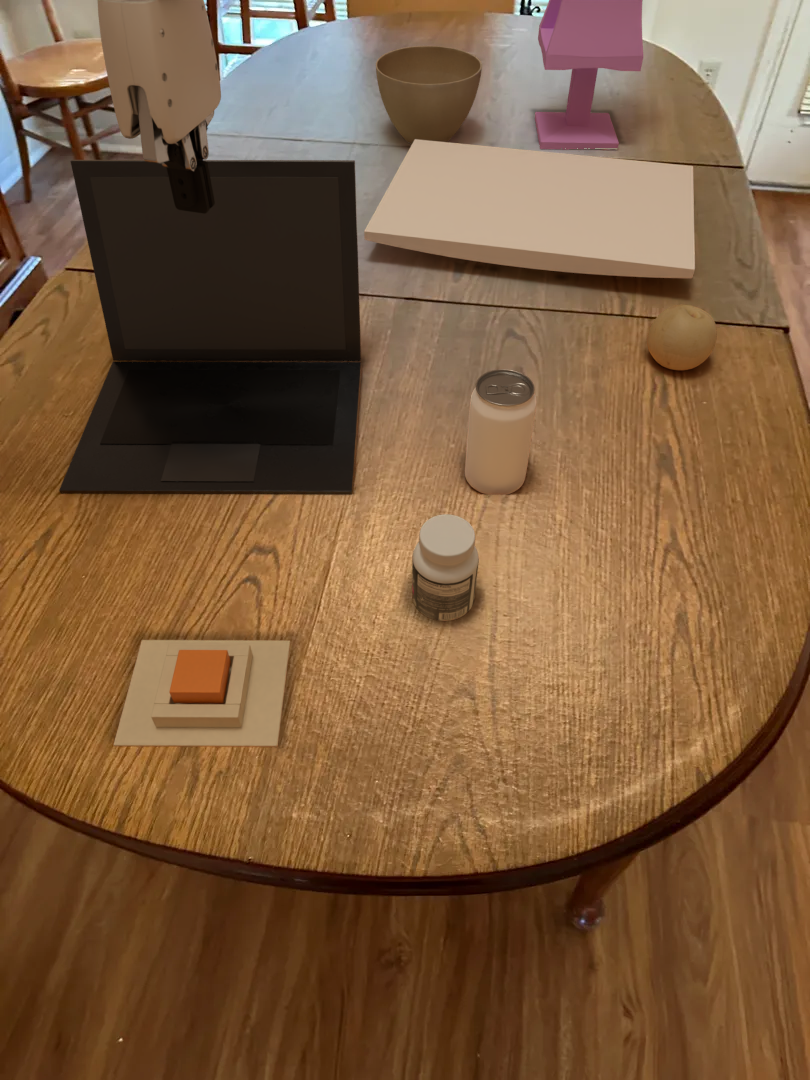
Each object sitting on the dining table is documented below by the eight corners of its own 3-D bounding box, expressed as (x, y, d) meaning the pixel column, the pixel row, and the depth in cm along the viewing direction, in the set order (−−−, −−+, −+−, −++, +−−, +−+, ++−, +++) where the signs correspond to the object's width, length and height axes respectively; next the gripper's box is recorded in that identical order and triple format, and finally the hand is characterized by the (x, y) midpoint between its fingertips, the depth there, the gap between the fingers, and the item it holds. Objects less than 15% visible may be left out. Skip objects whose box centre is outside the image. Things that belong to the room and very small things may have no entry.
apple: (625, 356, 98) (647, 293, 95) (669, 366, 102) (690, 306, 99) (672, 372, 91) (696, 305, 89) (716, 381, 96) (740, 317, 93)
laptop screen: (354, 161, 82) (355, 160, 83) (69, 160, 83) (72, 159, 83) (360, 361, 95) (361, 359, 95) (112, 361, 95) (114, 358, 95)
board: (365, 262, 113) (364, 231, 110) (414, 167, 134) (414, 139, 130) (685, 301, 107) (694, 269, 103) (685, 195, 127) (693, 166, 124)
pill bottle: (424, 573, 75) (426, 501, 68) (481, 591, 74) (490, 519, 66) (402, 618, 72) (402, 548, 64) (462, 637, 70) (469, 567, 63)
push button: (173, 703, 63) (168, 692, 62) (183, 661, 66) (178, 649, 64) (223, 703, 63) (219, 692, 62) (231, 661, 66) (227, 649, 64)
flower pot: (357, 136, 143) (353, 62, 133) (429, 110, 151) (430, 38, 141) (424, 169, 134) (426, 91, 125) (497, 139, 142) (504, 64, 133)
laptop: (352, 503, 81) (351, 490, 80) (64, 502, 82) (58, 489, 80) (361, 374, 96) (360, 361, 95) (116, 373, 96) (112, 360, 95)
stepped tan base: (118, 753, 63) (106, 734, 61) (145, 649, 70) (136, 628, 67) (279, 754, 63) (274, 735, 61) (292, 649, 70) (288, 628, 67)
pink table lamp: (529, 116, 149) (555, -123, 122) (611, 117, 148) (656, -122, 122) (534, 151, 138) (565, -102, 112) (623, 152, 138) (675, -101, 112)
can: (528, 498, 82) (543, 408, 73) (466, 498, 82) (473, 408, 73) (521, 456, 86) (534, 366, 77) (462, 456, 86) (469, 366, 77)
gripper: (149, -65, 63) (195, 168, 77) (42, -14, 53) (116, 241, 67) (235, -58, 62) (266, 178, 75) (141, -5, 52) (196, 254, 66)
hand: (195, 207), depth 71 cm, fingers closed
